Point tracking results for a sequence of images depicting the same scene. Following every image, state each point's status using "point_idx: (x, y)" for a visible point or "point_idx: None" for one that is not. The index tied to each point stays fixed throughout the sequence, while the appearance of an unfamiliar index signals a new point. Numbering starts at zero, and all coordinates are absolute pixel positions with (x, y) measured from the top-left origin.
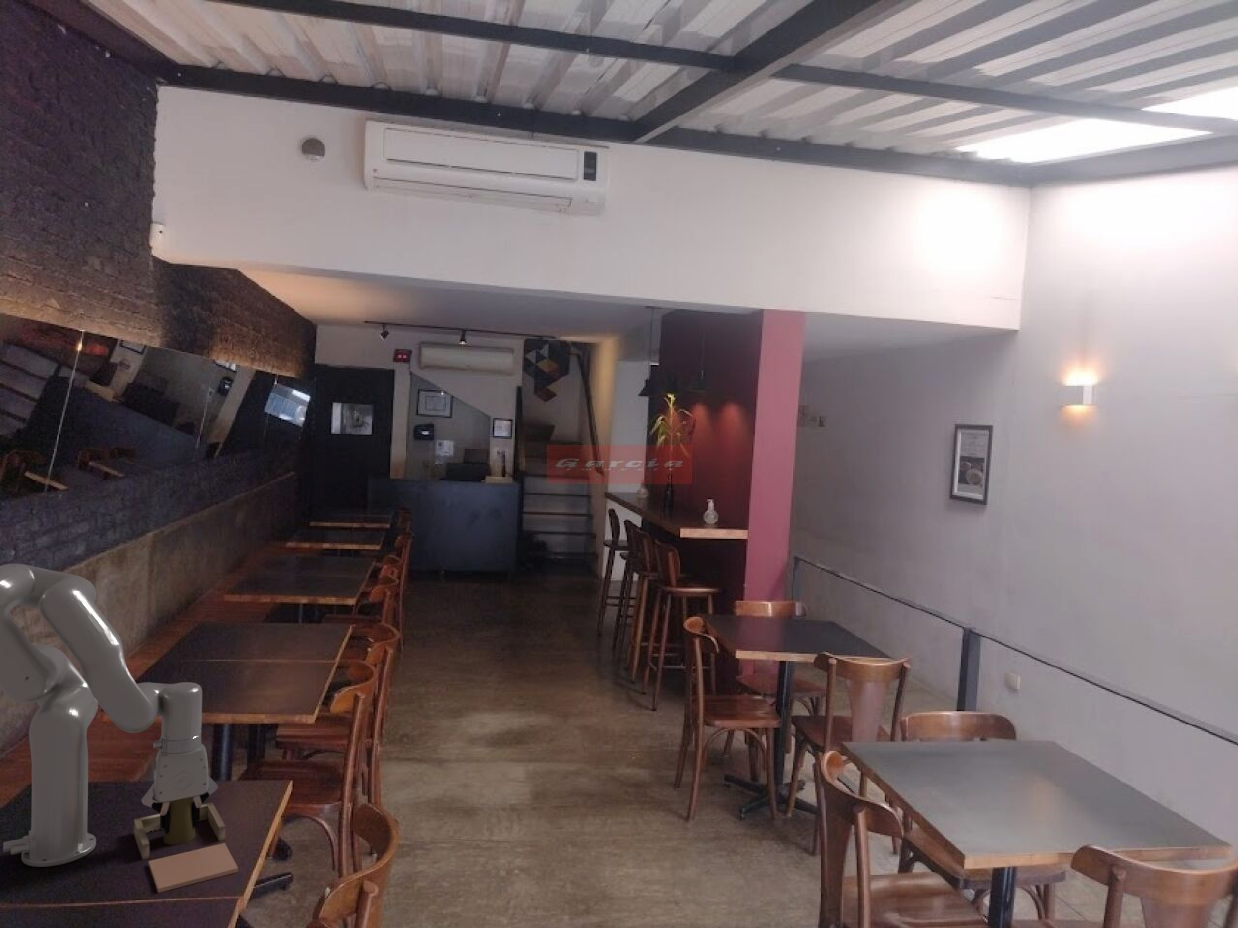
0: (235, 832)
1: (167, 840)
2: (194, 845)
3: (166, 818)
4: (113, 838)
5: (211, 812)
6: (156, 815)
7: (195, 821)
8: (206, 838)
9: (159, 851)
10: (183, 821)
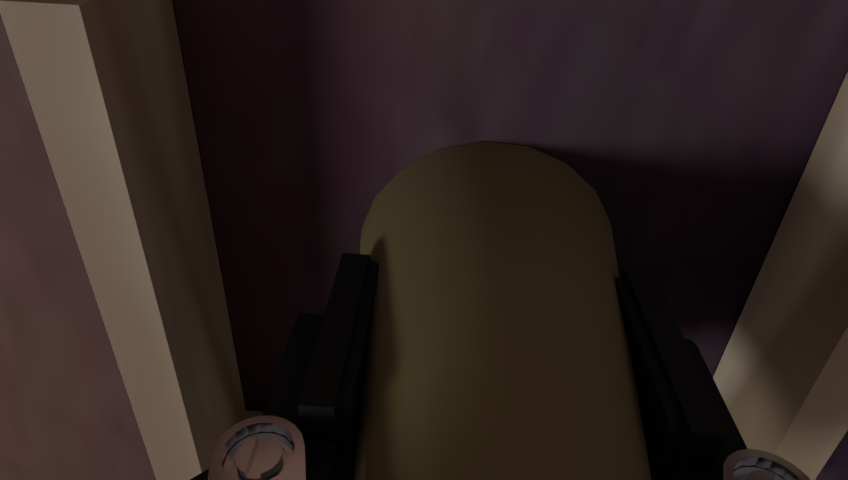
0: (12, 81)
1: (609, 227)
2: (410, 28)
3: (703, 392)
4: (843, 467)
5: (180, 396)
6: None
7: (347, 284)
8: (282, 114)
9: (724, 99)
10: (494, 287)
